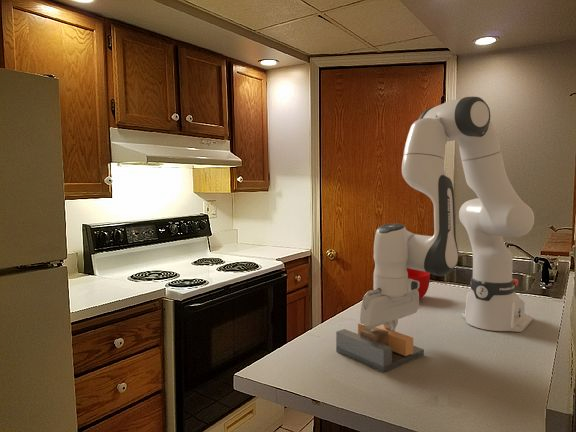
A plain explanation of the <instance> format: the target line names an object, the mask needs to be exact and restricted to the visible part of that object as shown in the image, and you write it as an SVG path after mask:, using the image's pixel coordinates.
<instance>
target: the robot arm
mask: <svg viewBox="0 0 576 432" xmlns="http://www.w3.org/2000/svg"><path fill="white" fill-rule="evenodd" d="M452 141H456V142H457V143H458V147H459V148H458V149H459V155H460V160H461V164H462V169H463V173H464V177H465V182H466V184H467V186H468V187H469V188H470V189H471V190H472V191H473V192H474V193H475V195H476V197H477V198H473V199H469V200H467V201H465V202H464V203H462V205H461V206H460V208H459V211H458V219H459V221H460V223H461V224H462V226H464V229H465V230H466V233H467V236H468V240H469V243H470V246H471V250H472V277H470V278H471V279H470V289H471V290H470V291H468V292H467V295H466V300H465V301H466V302H465V303H466V304H465V311H464V312H462V314H461V317H462V318H463V319H465V322H466V323H467V324H468V325H470V326H472V327H474V328H479V329H480V330H486V331H491V332H492V331H493V332H494V331H495V332H514V333H515V332H517V333H522V332H524V330H525V329H527V327H528V325H530V324H531V322H533V316H532V315H530V314H527V313H525V311H526V310H525V308H526V307H525V302H524V300H523V299H522V298H521V297H520V296H519V295H518V294H517V292H516V288H515V287H517V286H518V284H519V280H518V279H514V278H513V266H514V265H513V264H514V263H513V262H514V261H513V260H514V258H513V256H514V255H513V253H512V252H511V250H510V249H509V247H507V246H506V244H505V241H504V238H518V237H523V236H526V235H527V234H528V233H530V231H532V229H533V227H534V224H535V214H534V211H533V209H532V208H531V207H530V206H529V205H528V204H526V203H525V202H524V201H523V200H522V199H521V198H520V197H519V195H518V194H517V192H516V190H515V188H514V187H513V185H512V183H511V182H510V179H509V177H508V174H507V172H506V167H505V163H504V157H503V154H502V149H501V146H500V145H501V144H500V141H499V138H498V135H497V133H496V130H495V127H494V125H493V123H492V121H491V109H490V106H489V105H488V104H487V103H486V101H485V100H484V99H483V98H481V97H479V96H465V97H462V98H458V99H452V100H449V101H445V102H444V103H441V104H438V105H436V106H432V107H429V108H427V109H425V110H424V111H423V112H422V113H421V114H420V115H419V117H418V118H417V120H415V121H414V122H412V124H411V125H410V128H409V130H408V134H407V137H406V141H405V144H404V149H403V157H402V162H401V175H402V178H403V179H404V181H405V182H406V184H407V185H409V187H411V188H412V189H414V190H416V191H418V192H420V193H422V194H424V195H426V196H427V197H428V198H429V199H430V200H431V202H432V204H433V205H432V206H433V228H434V229H433V230H434V231H433V235H425V234H417V233H413V232H411V231H409V230H407V227H406V226H405V225H404V224H403V223H396V222H395V223H385V224H383V225H380V226H378V228H376V231H375V234H374V241H373V260H374V270H373V289H372V290H368V291H366V293H365V294H364V295H363V297H362V301H361V306H360V313H359V316H360V317H359V323H361V324H362V325H363V326H365V327H368V328H374V327H377V326H382V325H383V327H384V328H386V329H389V330H392V331H395V332H396V327H397V325H398V322H399V319H402V318H406V317H409V316H411V315H414V314H416V313H417V312H418V310H419V306H420V300H419V292H418V290H417V289H418V288H419V281H416V280H413V279H409V278H408V272H407V269H413V270H419V271H424V272H427V273H430V275H431V274H432V275H434V276H437V277H444V276H446V275H448V274H449V273H451V272H452V271H453V270H454V269H455V268H456V267H457V265H458V262H459V249H458V244H457V237H456V235H457V234H456V209H455V207H456V206H455V204H456V203H455V191H454V184H453V181H452V180H451V178H450V177H448V176H447V174H446V171H445V156H446V145H447V142H452Z"/></svg>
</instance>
